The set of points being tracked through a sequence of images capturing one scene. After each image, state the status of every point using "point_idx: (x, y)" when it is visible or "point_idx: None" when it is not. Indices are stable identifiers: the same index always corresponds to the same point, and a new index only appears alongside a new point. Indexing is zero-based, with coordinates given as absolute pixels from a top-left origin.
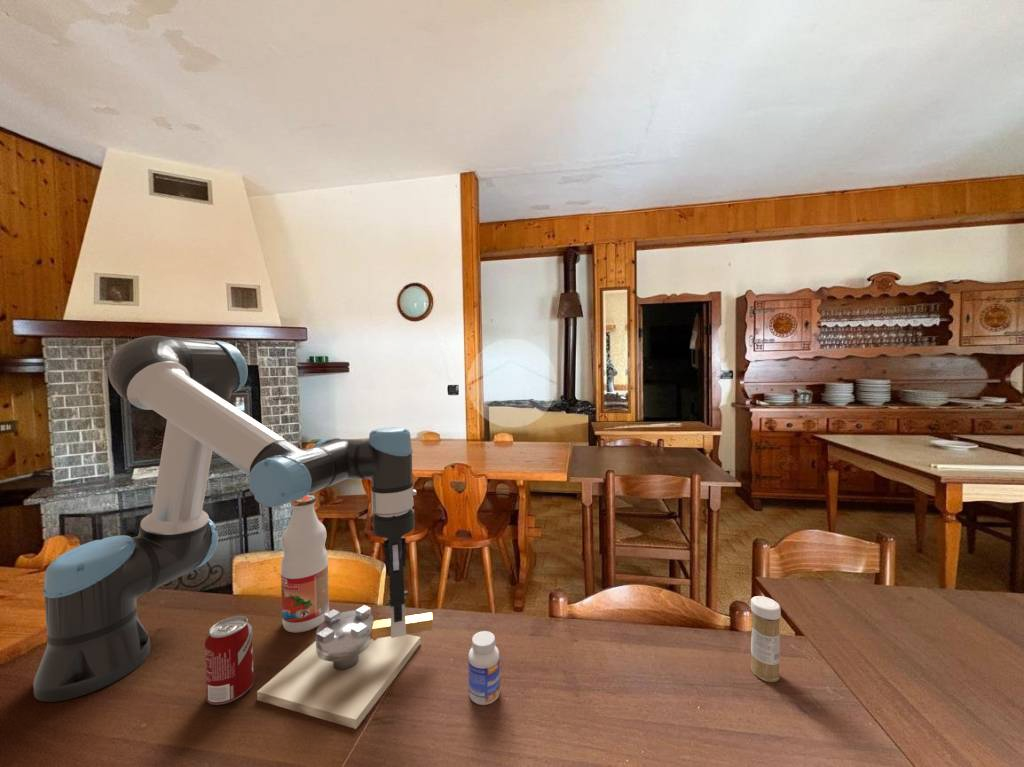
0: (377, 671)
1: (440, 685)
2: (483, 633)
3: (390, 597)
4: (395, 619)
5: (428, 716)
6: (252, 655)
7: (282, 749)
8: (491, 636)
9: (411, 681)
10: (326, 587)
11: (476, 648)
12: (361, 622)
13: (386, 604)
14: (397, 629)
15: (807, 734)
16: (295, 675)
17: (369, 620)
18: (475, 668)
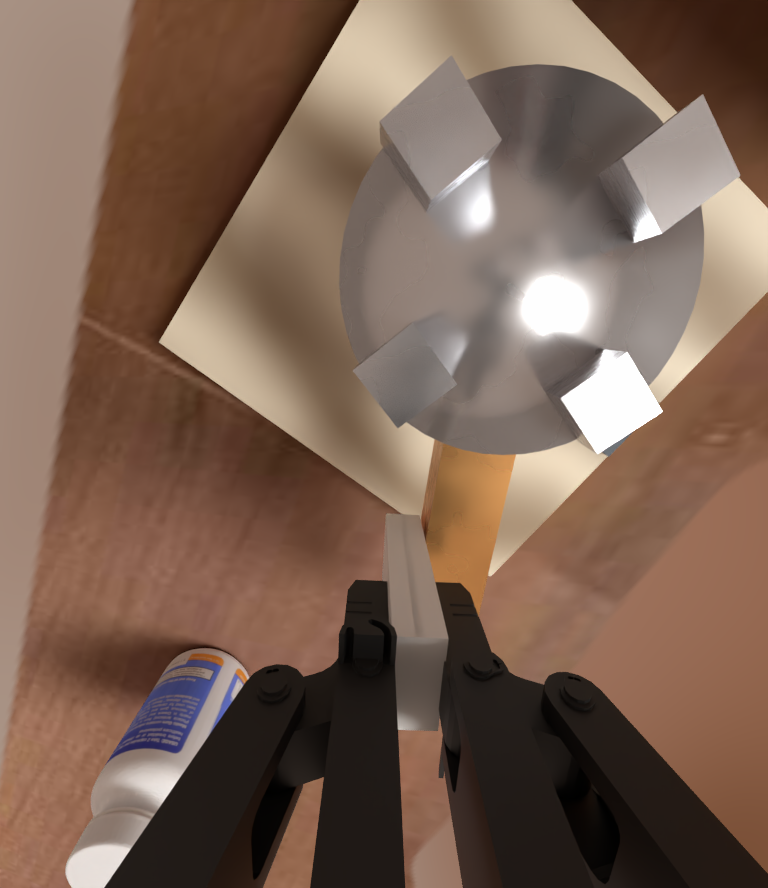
0: (364, 418)
1: (273, 586)
2: None
3: (186, 770)
4: (349, 598)
5: (170, 540)
6: None
7: (151, 90)
8: None
9: (318, 513)
10: None
11: (86, 833)
12: (513, 385)
13: (340, 631)
14: (385, 560)
15: None
16: (476, 62)
17: (512, 432)
18: (112, 755)
